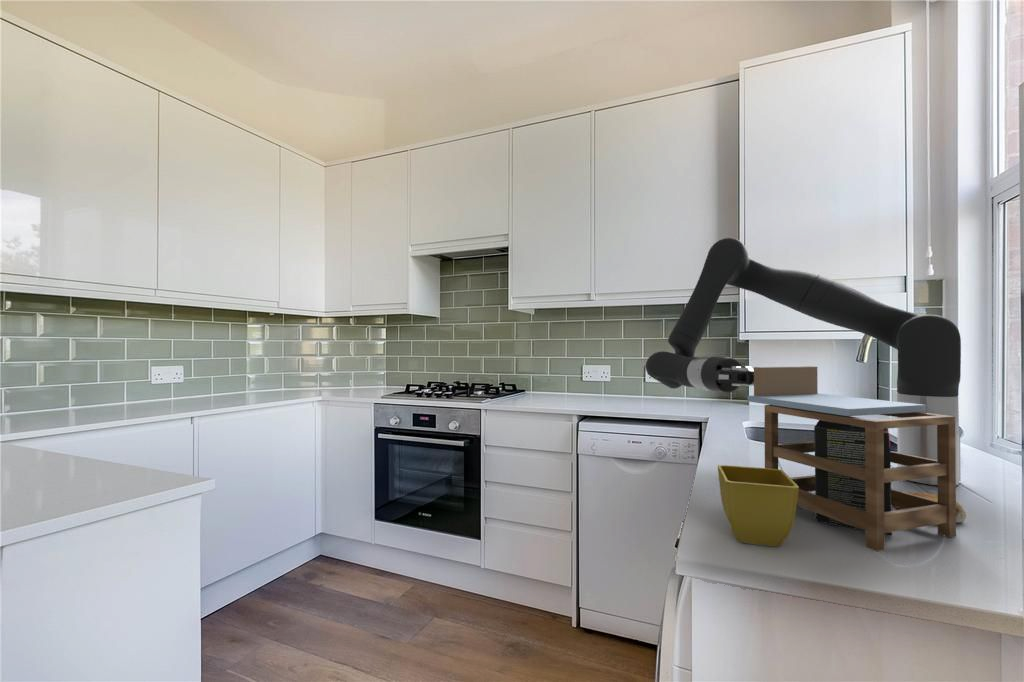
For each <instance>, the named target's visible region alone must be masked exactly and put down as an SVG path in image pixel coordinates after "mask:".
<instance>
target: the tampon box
mask: <svg viewBox="0 0 1024 682" xmlns="http://www.w3.org/2000/svg"><path fill="white" fill-rule="evenodd" d="M813 430H814V433H813V437H814V438H813V440H814V441H815V452H814V455H815V456H819V457H823V458H827V459H831V460H835V461H839V462H843V463H847V464H851V465H856V466H860V467H864V468H865V427H858V426H852V425H846V424H840V423H834V422H828V421H822V420H817V423H816V424H815V425H814V429H813ZM890 451H891V439H890V433H889V428H888V429H884V469H886V468H892V467H891V464H892V462H890ZM814 475H815V492H814V494H815V495H818V496H821V497H824V498H827V499H830V500H834V501H837V502H840V503H843V504H846V505H849V506H852V507H855V508H858V509H861V510H864V511H866V489H865V481H863V480H859V479H855V478H852V477H848V476H844V475H840V474H837V473H833V472H829V471H826V470H822V469H818V468H815V467H814ZM891 488H892V482H888V483H884V512H889V511H892V505H891ZM814 513H815V522H819V523H824V524H825V523H826V524H828V525H829V524H830V525H833V526H838V527H844V528H849V529H854V530H858V531H862V532H863V531H864V530H862V529H859V528H856V527H854V526H851V525H848V524H845V523H843V522H840V521H837V520H835V519H832V518H829V517H827V516H824V515H821V514H819V513H816V512H814ZM864 532H865V531H864ZM884 536H889V537H890V536H891V537H892V536H893V532H890V533H884Z"/></svg>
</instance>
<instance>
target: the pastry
mask: <svg viewBox="0 0 1024 682" xmlns="http://www.w3.org/2000/svg"><path fill="white" fill-rule="evenodd" d="M906 492H907V491H906ZM907 493H910V494H914V495H918V496H921V497H925V498H929V499H932V500H936V501H938V494H937V495H936V494H934V493H929V492H928V493H926V492H917V491H916V492H913V491H912V492H911V491H908V492H907ZM899 510H903V508H899ZM966 518H967V512H966V511H965V509H964V507H963V506H962V505H961V504H959V502H958V501H957V500H956V524H958V523H963V522H964V521H965V520H966Z"/></svg>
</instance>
